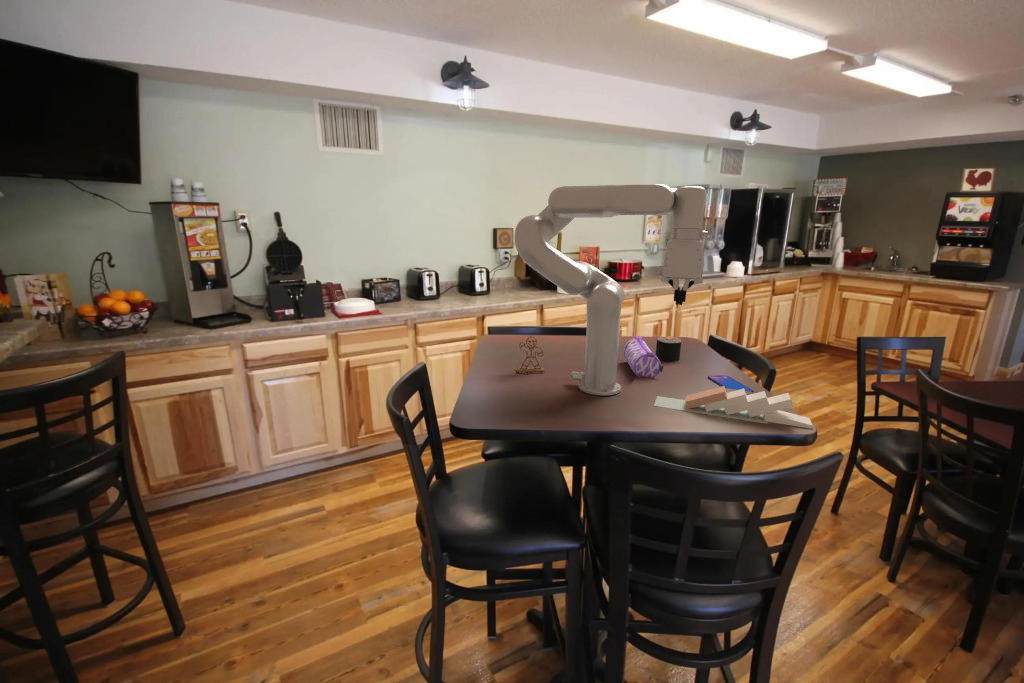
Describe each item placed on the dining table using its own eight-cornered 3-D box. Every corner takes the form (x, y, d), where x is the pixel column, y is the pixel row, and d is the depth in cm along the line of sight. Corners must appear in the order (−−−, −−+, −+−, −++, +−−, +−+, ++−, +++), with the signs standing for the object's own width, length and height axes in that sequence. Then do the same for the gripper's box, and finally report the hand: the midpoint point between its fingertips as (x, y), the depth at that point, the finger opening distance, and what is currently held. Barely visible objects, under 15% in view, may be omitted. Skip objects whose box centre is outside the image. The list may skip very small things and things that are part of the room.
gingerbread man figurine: (543, 369, 158) (544, 335, 155) (544, 373, 154) (545, 338, 151) (517, 369, 157) (517, 335, 154) (518, 373, 154) (518, 338, 151)
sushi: (651, 356, 176) (653, 336, 174) (668, 354, 179) (670, 334, 177) (666, 362, 169) (668, 340, 167) (683, 359, 172) (686, 338, 170)
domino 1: (684, 402, 122) (724, 391, 117) (686, 395, 126) (724, 385, 122) (687, 408, 122) (727, 398, 118) (688, 402, 127) (727, 392, 122)
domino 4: (746, 410, 116) (790, 399, 112) (746, 403, 121) (788, 392, 116) (749, 417, 116) (793, 406, 112) (748, 410, 121) (791, 400, 116)
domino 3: (724, 407, 118) (766, 397, 114) (723, 401, 123) (764, 390, 118) (726, 415, 118) (769, 404, 114) (726, 408, 123) (767, 398, 118)
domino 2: (704, 404, 120) (744, 394, 116) (704, 398, 125) (744, 388, 120) (706, 411, 120) (747, 401, 116) (707, 405, 125) (746, 395, 120)
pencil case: (662, 381, 148) (665, 352, 146) (633, 380, 148) (635, 352, 146) (645, 361, 170) (647, 336, 167) (619, 361, 170) (621, 335, 168)
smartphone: (732, 392, 138) (706, 375, 152) (732, 395, 138) (705, 378, 152) (755, 391, 139) (727, 375, 153) (755, 394, 139) (726, 377, 153)
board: (653, 409, 124) (653, 405, 124) (657, 400, 131) (657, 396, 131) (767, 428, 114) (767, 423, 114) (764, 416, 121) (765, 412, 121)
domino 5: (766, 413, 115) (812, 425, 111) (765, 406, 119) (809, 417, 115) (764, 420, 115) (810, 432, 112) (762, 413, 120) (806, 425, 116)
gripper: (716, 236, 123) (708, 304, 128) (658, 234, 129) (652, 300, 134) (716, 236, 117) (708, 308, 121) (655, 235, 122) (649, 304, 127)
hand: (679, 304), depth 127 cm, fingers closed
